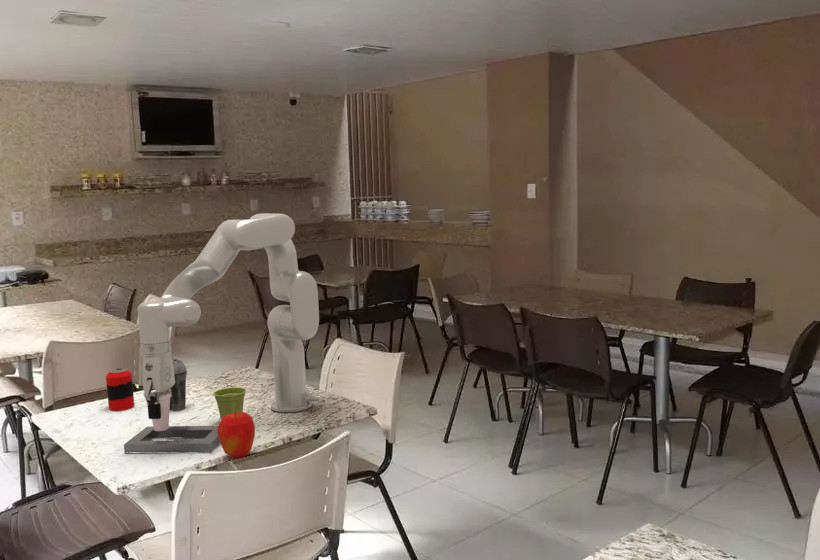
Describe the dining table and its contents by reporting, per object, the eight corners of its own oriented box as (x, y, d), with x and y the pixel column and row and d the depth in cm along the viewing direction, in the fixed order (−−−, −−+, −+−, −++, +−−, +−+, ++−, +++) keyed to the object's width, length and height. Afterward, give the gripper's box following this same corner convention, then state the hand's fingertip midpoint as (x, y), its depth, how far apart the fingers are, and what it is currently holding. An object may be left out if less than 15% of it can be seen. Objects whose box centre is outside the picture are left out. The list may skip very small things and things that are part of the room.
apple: (245, 447, 187) (242, 402, 185) (263, 455, 180) (260, 409, 179) (212, 457, 181) (209, 411, 179) (230, 466, 174) (227, 418, 172)
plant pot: (210, 419, 211) (208, 391, 210) (240, 413, 216) (238, 385, 215) (222, 427, 203) (220, 398, 202) (253, 420, 209) (251, 391, 208)
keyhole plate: (228, 433, 198) (228, 425, 198) (211, 452, 184) (210, 443, 184) (147, 434, 199) (147, 426, 199) (124, 453, 186) (123, 444, 185)
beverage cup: (193, 405, 226) (188, 343, 224) (184, 412, 219) (179, 348, 217) (171, 405, 227) (166, 343, 225) (161, 412, 220) (156, 348, 218)
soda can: (135, 402, 231) (131, 366, 230) (133, 409, 224) (130, 372, 223) (109, 405, 229) (106, 369, 228) (107, 412, 222) (104, 374, 220)
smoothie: (167, 423, 196) (163, 373, 194) (178, 428, 191) (174, 377, 190) (144, 429, 191) (140, 378, 190) (155, 434, 187) (151, 382, 185)
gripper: (155, 355, 180) (160, 424, 182) (182, 341, 197) (186, 405, 199) (126, 355, 180) (132, 425, 182) (155, 341, 198) (160, 405, 200)
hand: (160, 413), depth 191 cm, fingers closed on smoothie, 6 cm apart
